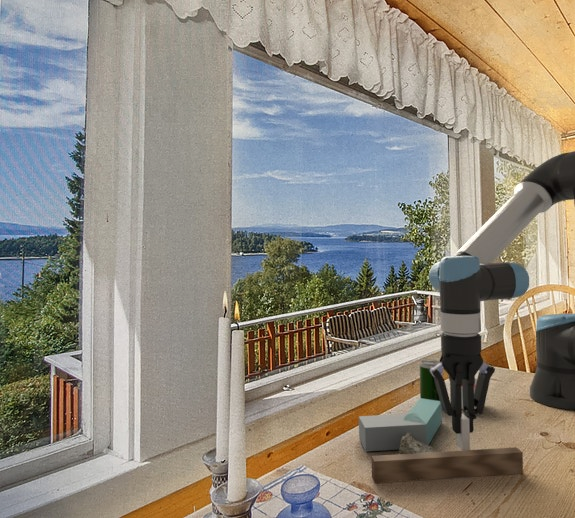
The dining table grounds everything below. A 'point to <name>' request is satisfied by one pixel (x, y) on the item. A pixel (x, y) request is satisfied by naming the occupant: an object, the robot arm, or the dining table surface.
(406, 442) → the rock sample
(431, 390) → the beer can
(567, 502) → the dining table surface
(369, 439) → the grey teal angled block
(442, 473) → the walnut wall
